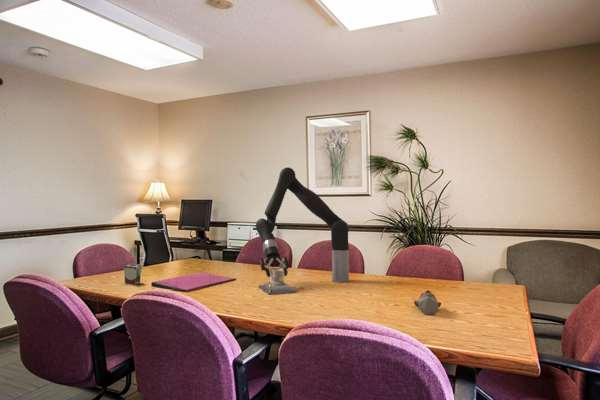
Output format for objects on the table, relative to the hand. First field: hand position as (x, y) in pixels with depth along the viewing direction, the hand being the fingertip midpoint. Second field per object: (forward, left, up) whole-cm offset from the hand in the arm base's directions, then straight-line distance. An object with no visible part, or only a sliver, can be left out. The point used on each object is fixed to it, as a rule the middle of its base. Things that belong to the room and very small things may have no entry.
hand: (277, 275), depth 199 cm
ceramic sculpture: (-68, +29, -8) cm, 74 cm away
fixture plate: (+1, -1, -7) cm, 7 cm away
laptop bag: (+49, -10, -8) cm, 51 cm away
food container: (+81, -6, -7) cm, 81 cm away
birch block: (+1, -1, -6) cm, 6 cm away
